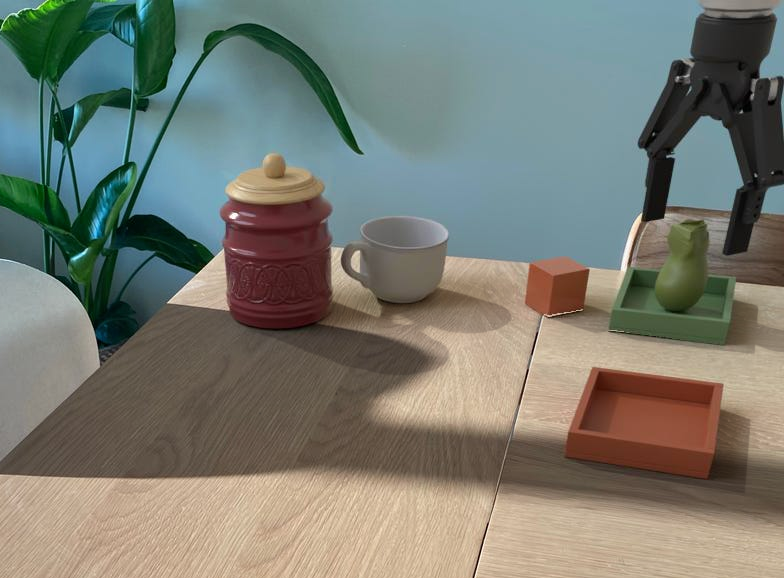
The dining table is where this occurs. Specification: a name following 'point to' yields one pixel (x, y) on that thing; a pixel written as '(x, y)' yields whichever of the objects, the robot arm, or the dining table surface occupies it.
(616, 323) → the green tray
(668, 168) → the robot arm
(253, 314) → the kitchen canister
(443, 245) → the teacup
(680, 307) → the pear
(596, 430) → the terracotta tray
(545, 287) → the block
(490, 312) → the dining table surface
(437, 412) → the dining table surface
